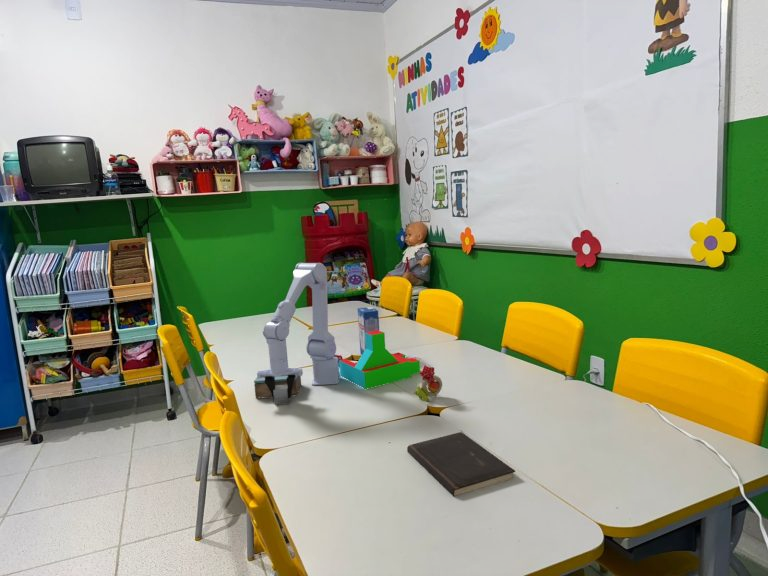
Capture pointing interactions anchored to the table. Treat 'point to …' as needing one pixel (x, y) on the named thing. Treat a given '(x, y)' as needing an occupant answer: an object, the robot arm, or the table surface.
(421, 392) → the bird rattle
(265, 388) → the toy box
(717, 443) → the table surface
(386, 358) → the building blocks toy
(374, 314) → the milk carton
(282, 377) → the lid
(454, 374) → the table surface
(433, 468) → the hardcover book
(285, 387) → the metal weight
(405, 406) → the table surface
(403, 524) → the table surface
